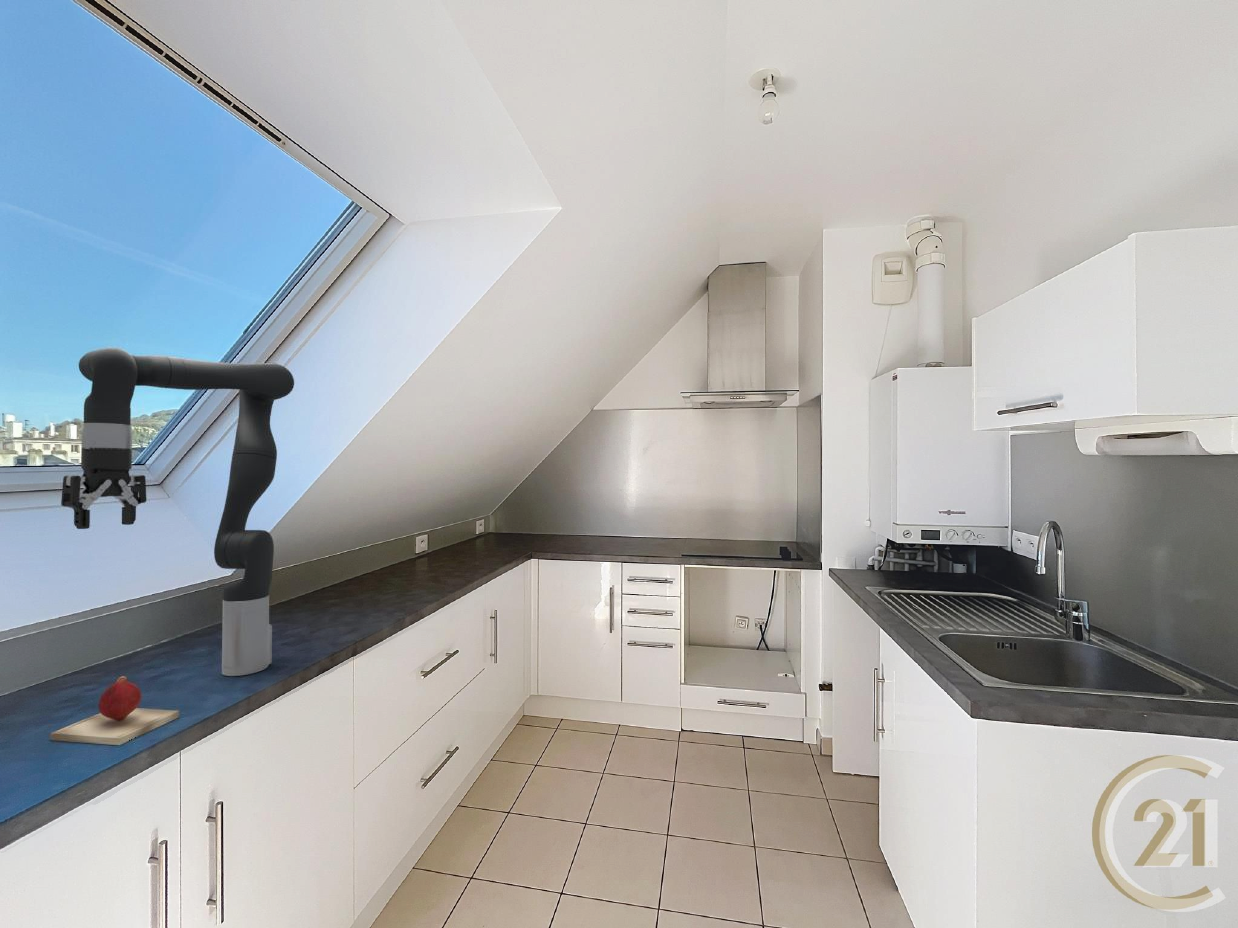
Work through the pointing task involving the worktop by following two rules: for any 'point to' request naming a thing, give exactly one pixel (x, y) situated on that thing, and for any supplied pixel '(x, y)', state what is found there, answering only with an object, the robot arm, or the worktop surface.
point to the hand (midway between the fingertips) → (106, 526)
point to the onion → (119, 699)
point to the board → (114, 727)
